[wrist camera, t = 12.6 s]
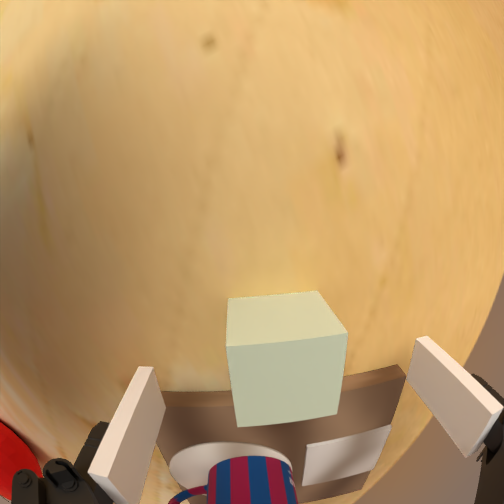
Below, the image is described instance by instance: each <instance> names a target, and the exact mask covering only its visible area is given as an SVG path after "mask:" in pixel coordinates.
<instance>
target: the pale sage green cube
mask: <svg viewBox="0 0 504 504" xmlns="http://www.w3.org/2000/svg"><path fill="white" fill-rule="evenodd" d="M347 339H348V332H347V330H346V329H345V328H344V326H343V325H342V323H341V322H340V321H339V319H338V318H337V317H336V315H335V314H334V312H333V311H332V310H331V308H330V307H329V306H328V304H327V303H326V302H325V300H324V299H323V298H322V296H321V295H320V293H319V292H318V291H307V292H298V293H287V294H277V295H265V296H253V297H241V298H228V309H227V329H226V353H227V360H228V368H229V375H230V382H231V389H232V395H233V402H234V409H235V415H236V421H237V427H249V426H261V425H271V424H280V423H288V422H295V421H302V420H308V419H314V418H320V417H325V416H330V415H335V414H337V411H338V405H339V399H340V393H341V387H342V380H343V373H344V365H345V357H346V349H347Z"/></svg>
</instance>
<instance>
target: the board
mask: <svg viewBox="0 0 504 504" xmlns="http://www.w3.org/2000/svg"><path fill="white" fill-rule="evenodd" d="M405 379H406V375H405V373H404V372H403V371H402V370H401V368H400V367H399V366H398V365H393V366H389V367H385V368H381V369H377V370H373V371H369V372H364V373H360V374H355V375H350V376H345V377H343V380H342V387H341V393H340V399H339V405H338V411H337V414H335V415H330V416H325V417H320V418H314V419H308V420H302V421H295V422H288V423H280V424H271V425H261V426H249V427H237V421H236V415H235V409H234V402H233V395H232V391H214V392H161V394H162V397H163V400H164V403H165V406H166V409H165V413H164V416H163V420H162V423H161V426H160V430H159V433H158V437H157V440H156V443H157V445H158V447H159V449H160V451H161V453H162V455H163V457H164V459H165V461H166V463H167V465H168V467H169V470H170V473H171V475H172V477H173V478H174V479H175V480H176V481H177V483H178V485H179V486H180V488H181V490H182V491H185V490H187V489H190V488H194V487H198V486H203V485H207V483H208V473H209V470H210V469H211V468H212V467H213V466H214V465H216V464H217V463H219V462H221V461H223V460H226V459H230V458H234V457H241V456H267V457H272V458H276V459H279V460H281V461H284V462H285V463H287V464H288V465H289V466H290V467H291V470H292V475H293V480H294V484H295V489H296V494H297V499H298V504H299V503H305V502H311V501H316V500H321V499H326V498H330V497H335V496H339V495H343V494H347V493H350V492H354V491H358V490H361V489H362V487H363V485H364V483H365V481H366V479H367V477H368V475H369V473H370V471H371V470H373V469H374V467H375V465H376V463H377V460H378V458H379V456H380V454H381V452H382V449H383V447H384V445H385V442H386V440H387V438H388V435H389V433H390V430H391V428H392V426H391V422H392V419H393V416H394V413H395V410H396V407H397V405H398V402H399V398H400V395H401V392H402V389H403V386H404V382H405ZM187 499H188V501H189V503H190V504H207V494H201V495H196V496H192V497H190V498H187Z"/></svg>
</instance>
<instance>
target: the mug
mask: <svg viewBox="0 0 504 504" xmlns="http://www.w3.org/2000/svg"><path fill="white" fill-rule="evenodd" d="M201 494H207V504H298V499H297V494H296V489H295V484H294V480H293V475H292V470H291V467H290V466H289V465H288V464H287V463H285V462H284V461H281V460H279V459H276V458H272V457H267V456H241V457H234V458H230V459H226V460H223V461H221V462H219V463H217V464H216V465H214V466H213V467H212V468H211V469H210V470H209V473H208V483H207V485H203V486H198V487H194V488H190V489H187V490H185V491H182V492H180V493H179V494H177V495H175V496H174V497H173V498H172V499H171V500H170V501H169V503H168V504H180V503H181V502H182V501H184V500H185V499H187V498H190V497H192V496H196V495H201Z"/></svg>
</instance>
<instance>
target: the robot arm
mask: <svg viewBox="0 0 504 504" xmlns="http://www.w3.org/2000/svg"><path fill="white" fill-rule="evenodd" d="M406 380H407V381H408V383H409V384H410V385H411V386H412V388H413V389H414V390H415V392H416V393H417V394H418V395H419V397H420V398H421V399H422V400H423V402H424V403H425V404H426V406H427V407H428V408H429V410H430V411H431V412H432V413H433V415H434V416H435V417H436V419H437V420H438V421H439V423H440V424H441V425H442V427H443V428H444V429H445V431H446V432H447V433H448V435H449V436H450V437H451V438H452V440H453V441H454V443H455V444H456V446H457V447H458V448H459V450H460V451H461V452H462V454H463V455H464V457H465V458H466V457H468V456H470V455H471V454H473V453H475V452H476V451H477V450H478V449H479V447H480V446H481V444H482V443H483V442H484V444H485V445H486V446H485V448H484V449H483V450H482V452H481V453H480V455H479V456H478V457H477V460H476V461H479V459H480V458H481V457H482V455H483V457H482V460H481V462H482V465H481V472H480V478H479V484H478V489H477V494H476V498H475V503H474V504H504V398H502V397H501V396H500V395H499V394H498V393H497V392H496V391H495V390H494V389H492V387H491V386H490V385H488V384H487V382H486V381H484V380H483V379H482V378H481V377H479V376H477V375H475V374H471V375H470V374H469V373H468V372H467V371H466V370H465V369H464V368H463V367H461V366H460V365H459V364H458V363H457V362H456V361H455V360H454V359H453V358H452V357H450V356H449V355H448V354H447V353H446V352H445V351H444V350H443V349H442V348H440V347H439V346H438V345H437V344H436V343H435V342H434V341H432V340H431V339H430V338H429V337H428V336H424V337H420V338H416V341H415V345H414V350H413V354H412V358H411V363H410V367H409V370H408V374H407V378H406ZM165 409H166V406H165V403H164V400H163V397H162V394H161V391H160V388H159V385H158V381H157V378H156V374H155V371H154V368H153V367H144V366H139V367H138V369H137V371H136V373H135V374H134V376H133V378H132V380H131V382H130V384H129V386H128V388H127V390H126V392H125V394H124V396H123V398H122V400H121V402H120V404H119V406H118V408H117V410H116V412H115V414H114V416H113V418H112V420H111V422H110V423H107V422H101V421H100V422H99V423H98V424H97V425H96V426H95V427H93V428H92V430H91V432H90V434H89V436H88V439H87V440H86V442H85V445H84V446H83V448H82V449H81V451H80V453H79V455H78V457H77V459H76V461H75V463H74V466H73V465H72V464H71V462H69V461H68V460H66V459H62V458H56V459H52V460H50V461H48V462H47V463H46V464H45V466H44V468H43V476H44V477H45V478H42V477H38V476H37V475H36V473H35V472H33V471H32V470H30V469H20V470H19V471H17V472H16V473H15V474H14V475H13V479H12V494H11V504H113V502H114V503H115V504H139V503H140V499H141V495H142V491H143V487H144V484H145V480H146V476H147V472H148V469H149V465H150V461H151V458H152V454H153V451H154V447H155V444H156V440H157V437H158V433H159V430H160V426H161V423H162V420H163V416H164V413H165Z"/></svg>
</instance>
